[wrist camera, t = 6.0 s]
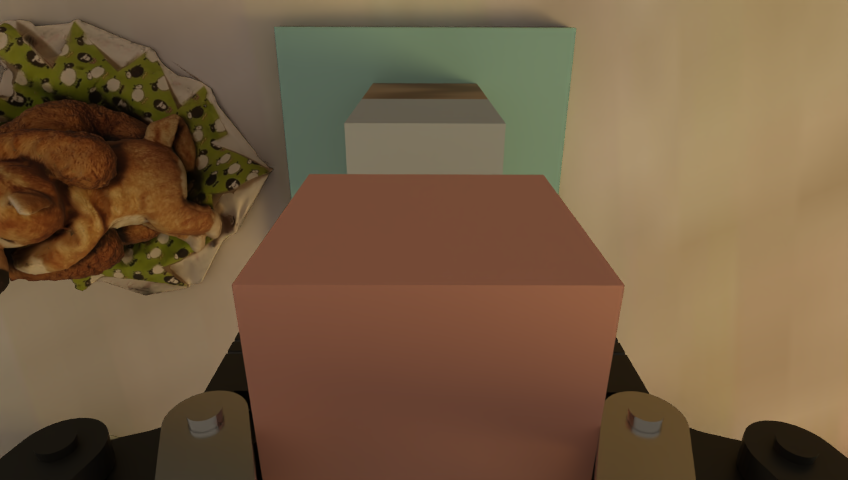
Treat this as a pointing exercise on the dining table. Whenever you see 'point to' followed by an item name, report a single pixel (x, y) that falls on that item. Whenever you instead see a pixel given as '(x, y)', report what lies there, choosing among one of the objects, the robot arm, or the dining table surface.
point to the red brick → (427, 331)
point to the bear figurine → (112, 163)
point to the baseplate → (424, 63)
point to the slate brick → (425, 137)
